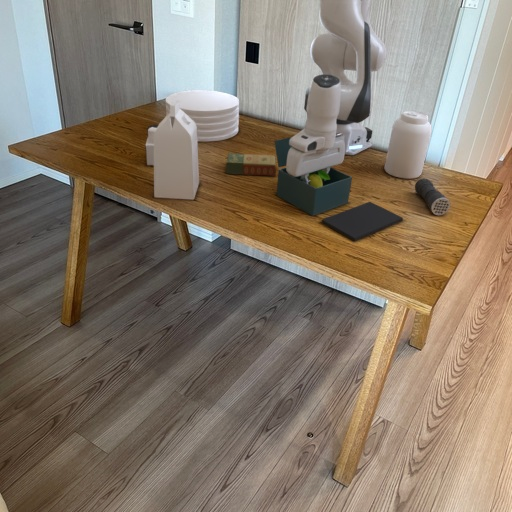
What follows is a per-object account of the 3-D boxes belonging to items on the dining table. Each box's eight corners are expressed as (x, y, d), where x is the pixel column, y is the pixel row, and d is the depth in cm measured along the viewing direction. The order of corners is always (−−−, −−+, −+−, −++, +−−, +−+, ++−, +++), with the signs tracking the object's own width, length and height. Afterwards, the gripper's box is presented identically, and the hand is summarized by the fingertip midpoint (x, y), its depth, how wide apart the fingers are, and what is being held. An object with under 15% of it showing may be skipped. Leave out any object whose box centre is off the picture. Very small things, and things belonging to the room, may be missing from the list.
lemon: (327, 200, 147) (331, 169, 142) (311, 204, 145) (316, 172, 139) (312, 191, 152) (316, 161, 147) (297, 195, 149) (301, 164, 144)
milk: (162, 180, 154) (157, 95, 140) (199, 182, 154) (198, 97, 140) (154, 197, 144) (148, 107, 130) (193, 199, 144) (192, 110, 130)
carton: (274, 176, 161) (275, 164, 159) (225, 173, 161) (225, 161, 159) (275, 166, 168) (276, 154, 166) (227, 163, 168) (227, 151, 166)
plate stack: (236, 143, 185) (237, 112, 179) (161, 139, 184) (159, 108, 178) (239, 120, 208) (240, 92, 202) (172, 116, 208) (171, 88, 202)
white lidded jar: (376, 171, 169) (388, 112, 158) (395, 162, 177) (407, 105, 166) (409, 182, 162) (424, 122, 151) (427, 172, 170) (442, 114, 159)
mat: (369, 204, 147) (369, 201, 147) (402, 220, 140) (402, 217, 139) (321, 222, 136) (321, 219, 136) (354, 241, 129) (354, 238, 128)
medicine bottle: (148, 157, 169) (146, 122, 163) (170, 157, 170) (168, 123, 163) (146, 165, 163) (144, 129, 157) (168, 165, 164) (167, 130, 157)
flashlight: (411, 192, 156) (415, 176, 153) (428, 192, 157) (432, 176, 154) (429, 215, 143) (434, 198, 140) (447, 215, 144) (452, 198, 141)
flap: (279, 167, 144) (278, 167, 145) (314, 157, 152) (314, 157, 153) (274, 140, 142) (274, 140, 143) (311, 132, 150) (310, 132, 150)
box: (276, 195, 149) (278, 169, 145) (311, 184, 157) (314, 159, 153) (312, 215, 139) (316, 188, 135) (347, 203, 147) (352, 177, 143)
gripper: (336, 128, 146) (330, 172, 153) (284, 140, 135) (280, 187, 142) (353, 134, 142) (345, 179, 149) (300, 147, 131) (295, 195, 138)
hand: (313, 183), depth 146 cm, fingers closed on lemon, 5 cm apart
